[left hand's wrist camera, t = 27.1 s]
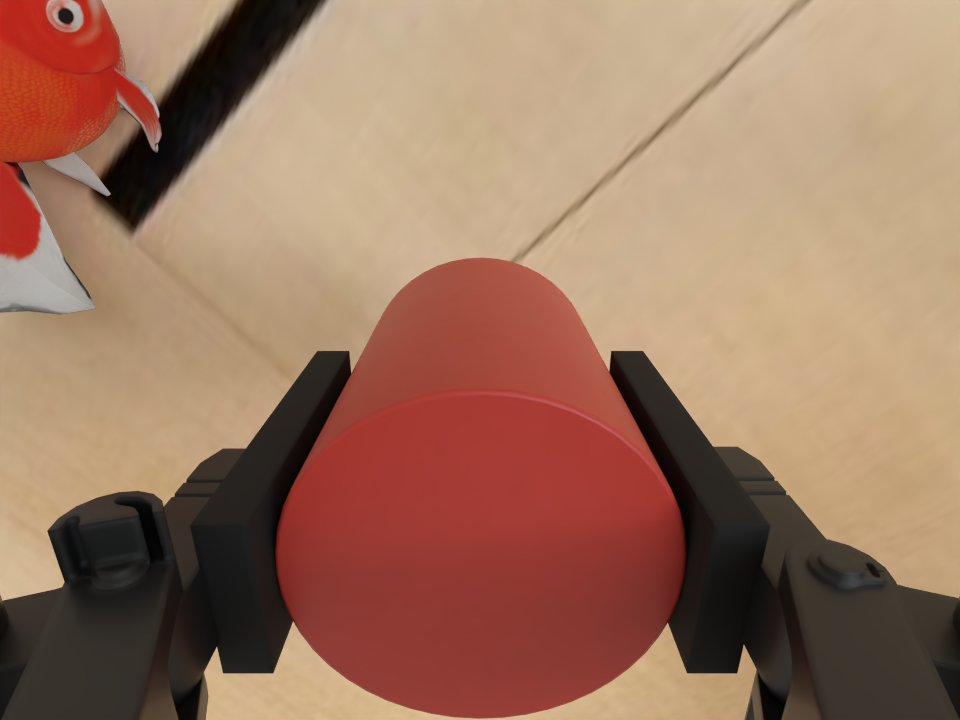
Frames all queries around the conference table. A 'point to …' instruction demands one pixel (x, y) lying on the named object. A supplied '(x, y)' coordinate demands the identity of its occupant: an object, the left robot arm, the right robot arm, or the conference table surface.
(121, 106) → the fish
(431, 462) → the canister
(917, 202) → the conference table surface
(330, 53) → the conference table surface
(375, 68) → the conference table surface
